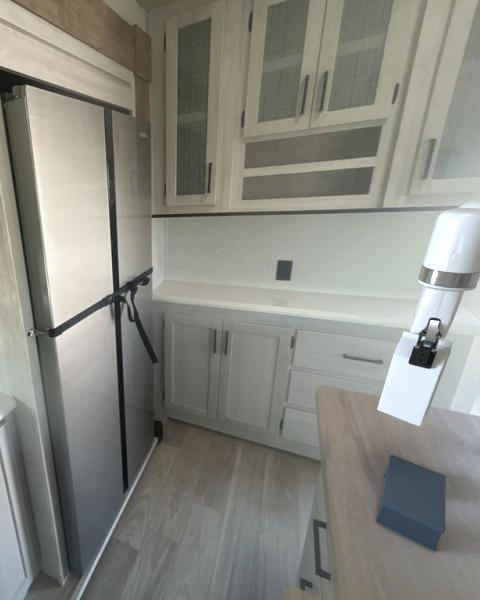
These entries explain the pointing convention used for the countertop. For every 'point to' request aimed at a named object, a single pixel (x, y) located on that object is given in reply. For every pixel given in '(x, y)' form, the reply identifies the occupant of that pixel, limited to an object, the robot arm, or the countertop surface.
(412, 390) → the milk carton
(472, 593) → the countertop surface
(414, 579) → the countertop surface
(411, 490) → the navy blue slab
